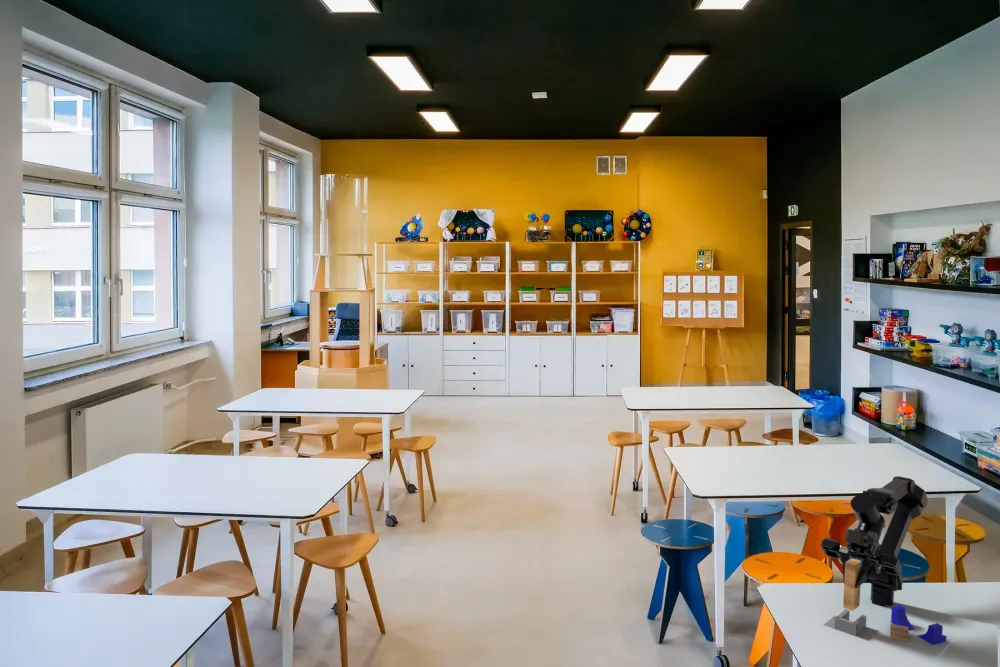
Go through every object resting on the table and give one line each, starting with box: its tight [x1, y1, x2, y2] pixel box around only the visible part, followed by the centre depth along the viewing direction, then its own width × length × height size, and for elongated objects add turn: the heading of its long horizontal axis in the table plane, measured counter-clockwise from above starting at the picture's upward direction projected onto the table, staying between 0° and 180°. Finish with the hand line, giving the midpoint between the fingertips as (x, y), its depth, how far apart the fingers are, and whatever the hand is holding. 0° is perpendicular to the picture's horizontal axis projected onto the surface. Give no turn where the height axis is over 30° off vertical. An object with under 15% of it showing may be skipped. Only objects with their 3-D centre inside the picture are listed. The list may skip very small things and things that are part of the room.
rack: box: [823, 608, 879, 641], centre depth 187 cm, size 7×11×4 cm, turn 43°
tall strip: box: [842, 557, 862, 611], centre depth 186 cm, size 4×2×12 cm, turn 133°
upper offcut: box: [889, 623, 910, 643], centre depth 183 cm, size 5×4×2 cm
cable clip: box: [890, 604, 947, 646], centre depth 185 cm, size 12×4×6 cm, turn 22°
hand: (850, 585), depth 185 cm, fingers closed on tall strip, 2 cm apart
